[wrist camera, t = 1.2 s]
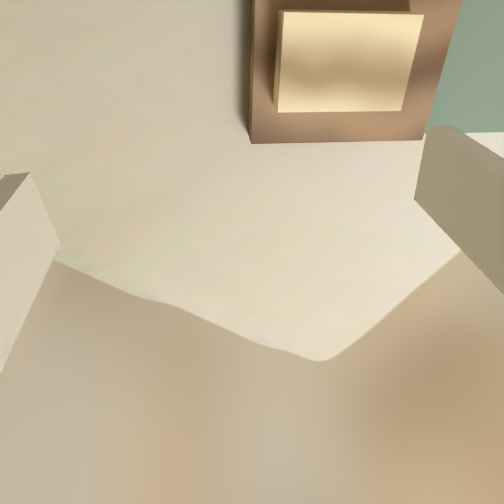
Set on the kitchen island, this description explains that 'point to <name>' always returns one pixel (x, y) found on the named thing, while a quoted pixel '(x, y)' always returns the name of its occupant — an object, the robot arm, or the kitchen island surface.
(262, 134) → the walnut deck
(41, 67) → the kitchen island surface
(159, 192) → the kitchen island surface
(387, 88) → the maple tile
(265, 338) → the kitchen island surface
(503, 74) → the rubber mat
